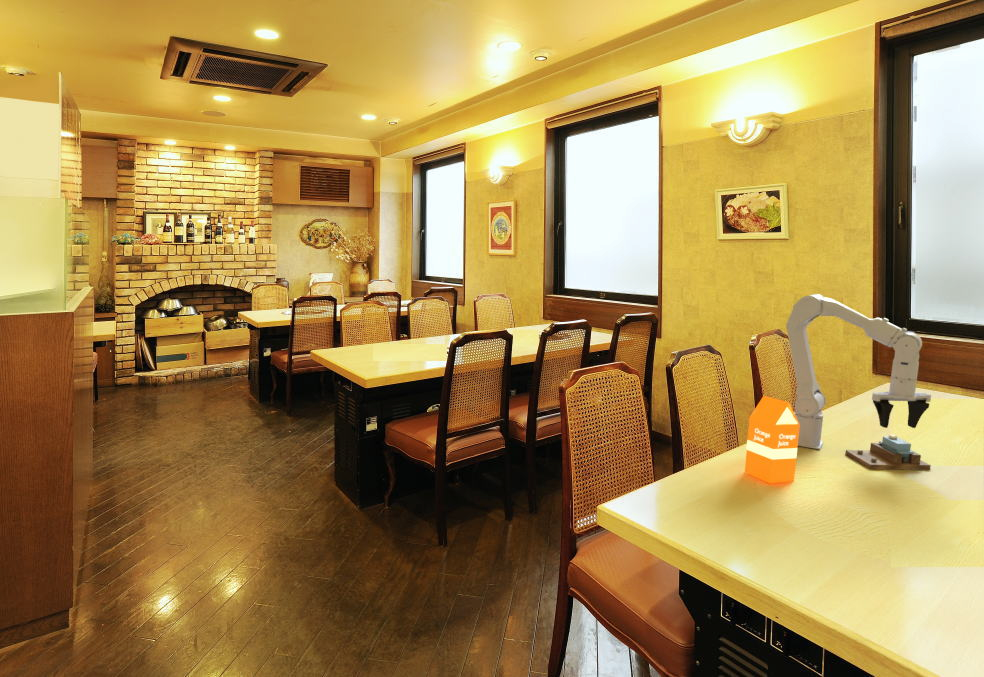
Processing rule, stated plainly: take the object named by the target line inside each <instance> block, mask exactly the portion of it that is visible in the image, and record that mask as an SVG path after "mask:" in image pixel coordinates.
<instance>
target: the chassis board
mask: <svg viewBox="0 0 984 677" xmlns="http://www.w3.org/2000/svg"><path fill="white" fill-rule="evenodd" d="M910 451H912V452H914V453H913V454H910V455H909V462H902V454H895V453H893V452H891V451H889V450H887V449H885V448H884V447H882V444H880V443H879V442H870V447H869V450H861V449H856V450H854V449H853V450H850V449H849V450H848V449H847V450H845V455H846V456H848V457H849V458H851V459H852V460H854V461H855V462H858V463H859V464H861V465H862V466H864V467H866V468H868V469H869V470H931V468H932V466H931V464H930V463H928V462H925V461H923V460H921V458H922V455H921V454H920V453H918V452H915V451H913V450H911V449H910Z"/></svg>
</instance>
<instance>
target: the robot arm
mask: <svg viewBox="0 0 984 677" xmlns="http://www.w3.org/2000/svg"><path fill="white" fill-rule="evenodd" d="M791 310H792V311H791V312H790V315H789V318H788V319H787V322H786V324H785V325H786V326H785V327H786V328H785V329H786V331H787V333H786V334H787V337H788V342H789V349H790V354H791V358H792V365H793V368H794V374H795V380H796V383H797V384H796V388H795V389H796V391H795V394H796V399H795V402H794V408H795V412H794V411H793V412H794V414H795V416H796V419H797V421H798V423H799V424H800V426H799V436H798V446H797V447H804V448H807V449H808V448H809V449H814V450H815V449H816V450H821V448H822V446H823V444H824V441H823V440H822V432H823V431H822V430H823V421H824V414H823V411H822V409H823V408H824V407H825V406H826V403H827V400H826V396H825V395H824V394H823V392H822V391H821V387H820V385H819V383H818V381H817V377H816V373H815V368H814V362H813V358H812V352H811V348H810V347H811V346H810V340H809V336H808V330H807V328H808V326H809V325H811V323H812V322H813V321H814V320H815V319H816V318H818V317H820V316H821V317H836V318H838V319H840V320H843V321H845V322H847V323H850V324H852V325H853V326H856V327H858V328H861V329H862V330H863V332H864V334H865V336H866V337H869V339H872V340H874V341H876V342H878V343H880V344H882V345H884V346H886V347H888V348H893V350H894V358H893V360H892V366H891V376H890V383H889V391H881V392H879V391H878V392H872V397H871V400H872V403H873V405H874V407H875V409H876V412H877V414H878V419H879V427H882V428H885V429H888V426H889V423H890V422H889V421H890V416H891V412H892V410H893V408H894V406H895V405H894V404H892V403H890V402H907V406H908V408H907V409H908V415H907V416H908V417H907V426H908V427H910V428H912V429H916V427H917V426H918V423H919V420H920V419H921V418H922V415H923V414H924V413H925V412H926V411H927V409H929V407H930V402H931V400H932V399H931V398H932V395H931V394H929V393H926V392H916V388H917V380H918V374H919V365H920V362H919V360H920V351H921V348H922V346H923V340H922V338H921V337H920V335H918V334H917V333H916V332H914V331H908V329H907V328H905V327H902V328H901V327H899V326H897V325H895V324H893V323H891V322H889V321H890V320H889V319H888V318H886V317H883V318H882V317H881V318H880V317H875V318H869V317H867V316H865V315H864V314H862V313H861V312H858V311H856V310H854V308H853V309H852V308H851V307H849V306H847V305H846V304H843V303H842V302H840V301H838V300H835V299H833V298H830V297H825V296H824V295H822V294H819V293H813V294H812V293H811V294H810V295H805V296H803V297H801V298H800V299H798V300H797V301H796V303H794V305H792V309H791Z"/></svg>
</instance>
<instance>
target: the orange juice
mask: <svg viewBox="0 0 984 677" xmlns="http://www.w3.org/2000/svg"><path fill="white" fill-rule="evenodd" d="M748 418H749V424H748V432H747V440H746V454H745V465H744V473H745V474H748V475H750V476H752V477H754V478H757V479H760V480H761V481H763V482H766V483H769V484H777V483H779V484H780V483H792V482H795V474H796V464H797V456H798V455H797V454H798V447H799V446H798V436H799V426H800V424H799V423H798V421H797V419H796V416H795V414H794V411H793V408H792V406H791V404H790V402H789V401H785V400H781V399H777V398H774V397H770V396H766V395H763V396H762V397H761V399H760V401H759V402H758V403H757V405H756V407H755V409H754V410H753V412H752V413H751V415H750V416H749V417H748Z"/></svg>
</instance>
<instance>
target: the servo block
mask: <svg viewBox="0 0 984 677" xmlns="http://www.w3.org/2000/svg"><path fill="white" fill-rule="evenodd" d="M878 443H880V444H882V447H884V448H885V449H887V450H889V451H891V452H893V453H895V454H902V462H909V455H910V454H913V453H914V452H915V451H914V452H912V451H913V450H912V451H910V450H911V447H912V444H911V443H910V442H908V441H906V440H904V439H901V438H900V437H898V435H897V434H888V436H882V440H879V441H878Z"/></svg>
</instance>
